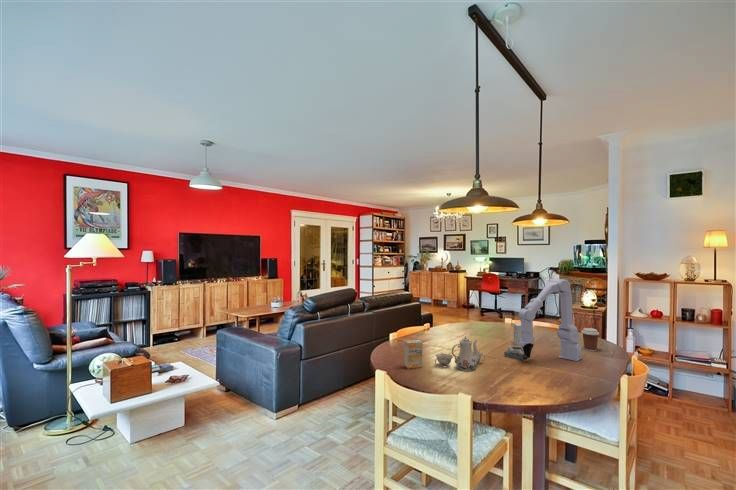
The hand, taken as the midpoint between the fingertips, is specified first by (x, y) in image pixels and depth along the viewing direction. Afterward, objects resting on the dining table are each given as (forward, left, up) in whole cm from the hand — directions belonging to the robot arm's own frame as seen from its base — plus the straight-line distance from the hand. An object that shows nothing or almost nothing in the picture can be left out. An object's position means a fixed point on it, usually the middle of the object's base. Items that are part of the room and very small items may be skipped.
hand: (527, 357), depth 190 cm
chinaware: (+21, +30, -3) cm, 37 cm away
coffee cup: (-17, -49, -3) cm, 52 cm away
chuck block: (+8, -6, -2) cm, 10 cm away
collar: (+5, -2, 0) cm, 5 cm away
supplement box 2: (+17, -33, -3) cm, 37 cm away
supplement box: (+38, +48, -3) cm, 62 cm away
